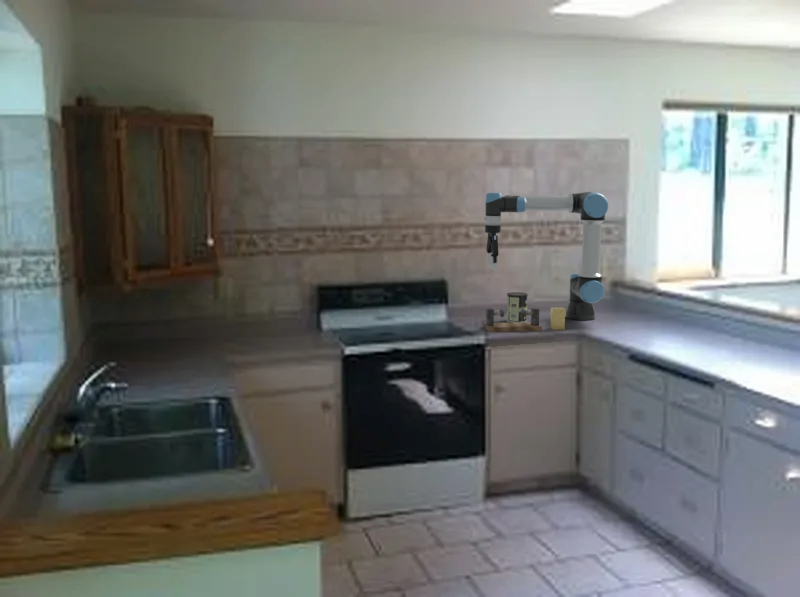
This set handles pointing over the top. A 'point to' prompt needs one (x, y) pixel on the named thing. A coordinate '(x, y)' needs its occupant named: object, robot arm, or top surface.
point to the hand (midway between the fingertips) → (491, 267)
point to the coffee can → (516, 307)
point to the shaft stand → (501, 327)
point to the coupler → (557, 318)
